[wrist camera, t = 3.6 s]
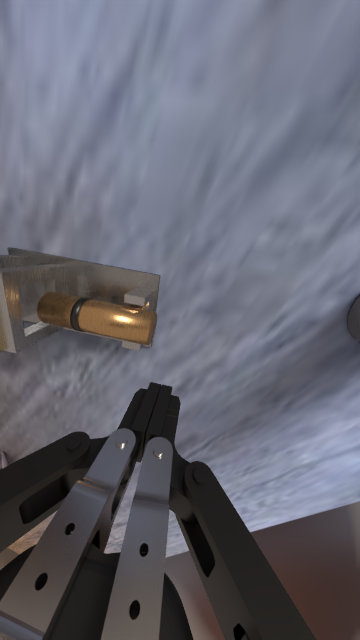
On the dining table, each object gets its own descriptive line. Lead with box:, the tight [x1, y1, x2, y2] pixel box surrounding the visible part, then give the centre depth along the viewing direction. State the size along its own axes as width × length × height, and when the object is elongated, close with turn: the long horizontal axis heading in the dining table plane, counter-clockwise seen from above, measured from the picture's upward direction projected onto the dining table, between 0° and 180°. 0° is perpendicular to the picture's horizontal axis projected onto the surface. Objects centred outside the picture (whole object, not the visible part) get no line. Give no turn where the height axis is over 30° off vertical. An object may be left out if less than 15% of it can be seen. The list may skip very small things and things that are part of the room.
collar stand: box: [0, 247, 160, 353], centre depth 23 cm, size 22×11×10 cm, turn 81°
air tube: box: [37, 292, 157, 345], centre depth 23 cm, size 13×4×4 cm, turn 81°
